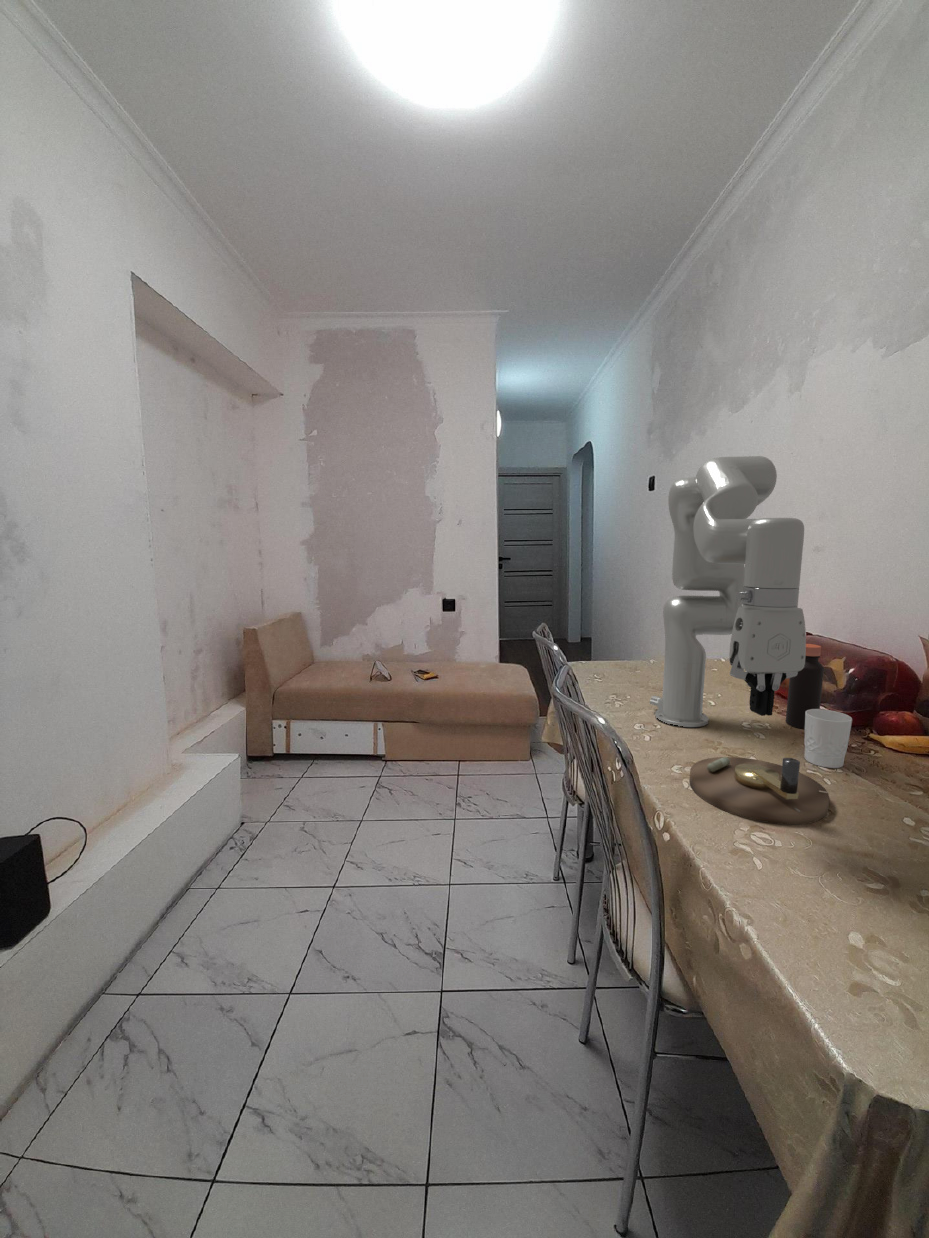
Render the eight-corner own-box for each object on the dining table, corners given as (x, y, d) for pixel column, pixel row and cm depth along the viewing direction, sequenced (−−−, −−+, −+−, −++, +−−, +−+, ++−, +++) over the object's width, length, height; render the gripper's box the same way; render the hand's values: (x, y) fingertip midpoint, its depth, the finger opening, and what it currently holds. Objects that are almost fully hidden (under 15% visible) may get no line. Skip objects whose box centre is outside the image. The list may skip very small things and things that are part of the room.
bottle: (779, 722, 132) (786, 644, 129) (797, 718, 135) (804, 641, 132) (805, 731, 126) (813, 649, 123) (824, 727, 129) (832, 646, 126)
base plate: (665, 786, 98) (666, 767, 98) (726, 757, 111) (727, 741, 111) (794, 839, 81) (796, 817, 80) (848, 797, 94) (851, 778, 93)
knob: (726, 772, 99) (729, 735, 98) (761, 770, 100) (764, 734, 98) (772, 806, 86) (776, 764, 85) (812, 803, 87) (816, 762, 86)
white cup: (854, 771, 105) (860, 722, 103) (810, 767, 106) (815, 720, 105) (835, 755, 112) (840, 710, 111) (794, 752, 114) (799, 707, 112)
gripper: (739, 602, 77) (731, 722, 80) (833, 600, 79) (821, 718, 82) (710, 597, 85) (703, 707, 87) (796, 596, 87) (787, 704, 89)
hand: (760, 712), depth 85 cm, fingers closed
